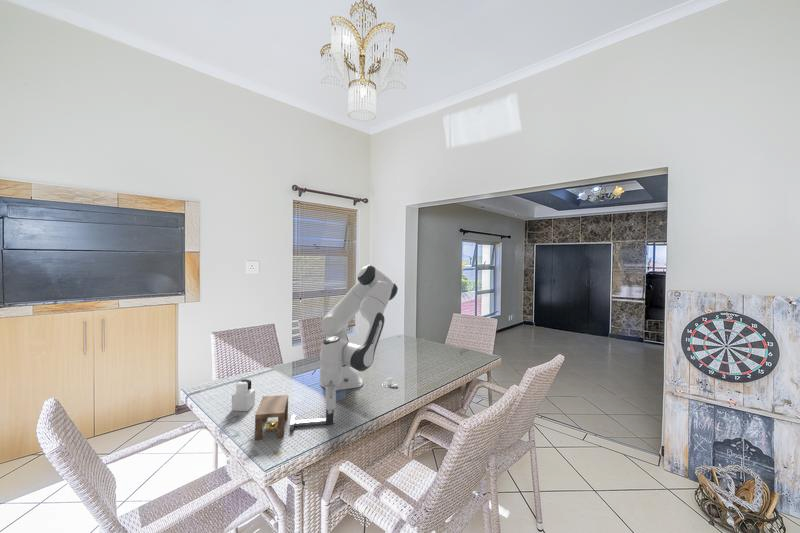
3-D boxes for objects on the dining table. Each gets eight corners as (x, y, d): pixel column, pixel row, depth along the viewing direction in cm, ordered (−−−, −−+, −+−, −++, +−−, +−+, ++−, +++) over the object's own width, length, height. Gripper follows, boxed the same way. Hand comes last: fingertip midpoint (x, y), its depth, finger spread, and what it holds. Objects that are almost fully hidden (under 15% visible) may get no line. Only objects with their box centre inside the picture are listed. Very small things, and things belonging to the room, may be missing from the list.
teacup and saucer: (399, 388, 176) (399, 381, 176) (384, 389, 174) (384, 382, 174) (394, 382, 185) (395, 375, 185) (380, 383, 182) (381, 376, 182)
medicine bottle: (239, 403, 152) (240, 377, 152) (255, 404, 152) (255, 378, 151) (231, 410, 145) (231, 383, 145) (247, 411, 145) (248, 384, 144)
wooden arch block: (287, 417, 141) (288, 395, 141) (283, 437, 126) (283, 412, 125) (262, 418, 139) (263, 396, 139) (254, 440, 123) (255, 414, 123)
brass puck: (279, 424, 135) (280, 419, 135) (278, 431, 130) (278, 426, 130) (266, 425, 134) (266, 420, 134) (264, 432, 129) (264, 427, 129)
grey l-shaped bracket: (333, 417, 141) (333, 389, 141) (333, 427, 134) (334, 397, 133) (291, 420, 138) (292, 392, 137) (289, 430, 130) (290, 400, 129)
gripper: (339, 386, 127) (338, 422, 128) (337, 368, 147) (336, 399, 147) (322, 387, 126) (321, 423, 126) (323, 369, 146) (322, 400, 146)
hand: (329, 410), depth 137 cm, fingers closed on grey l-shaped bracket, 2 cm apart
